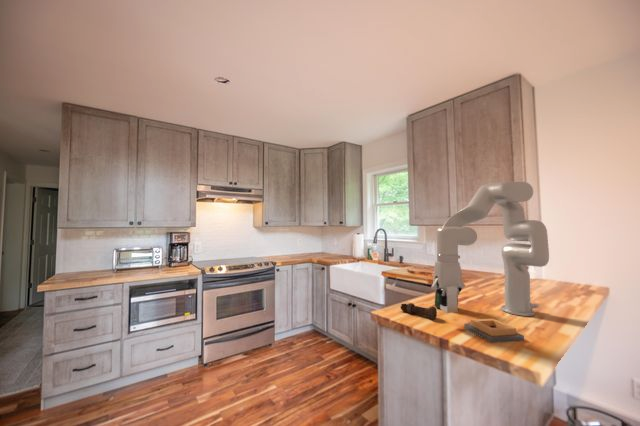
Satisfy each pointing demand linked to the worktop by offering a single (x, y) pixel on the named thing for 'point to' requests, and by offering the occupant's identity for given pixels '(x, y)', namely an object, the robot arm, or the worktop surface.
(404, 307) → the bolt
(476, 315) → the worktop surface
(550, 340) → the worktop surface
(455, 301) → the block
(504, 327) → the square socket base
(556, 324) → the worktop surface
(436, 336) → the worktop surface
